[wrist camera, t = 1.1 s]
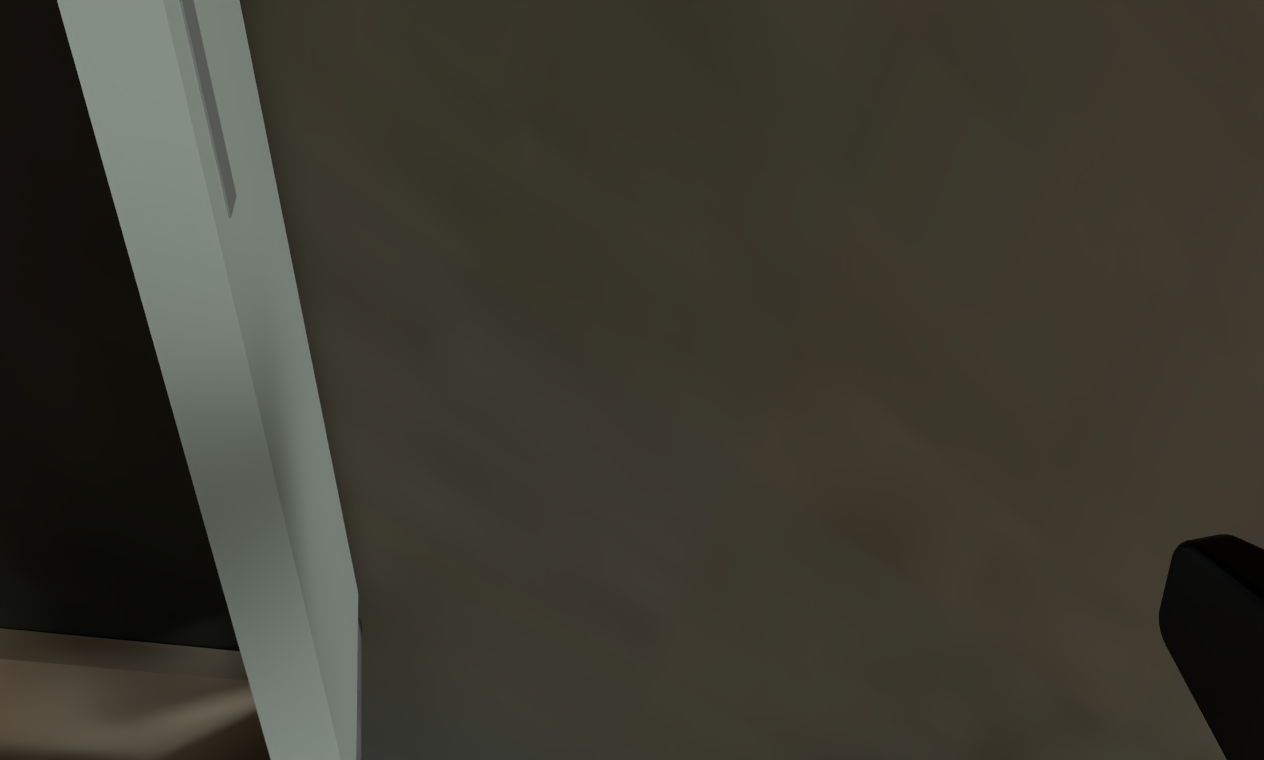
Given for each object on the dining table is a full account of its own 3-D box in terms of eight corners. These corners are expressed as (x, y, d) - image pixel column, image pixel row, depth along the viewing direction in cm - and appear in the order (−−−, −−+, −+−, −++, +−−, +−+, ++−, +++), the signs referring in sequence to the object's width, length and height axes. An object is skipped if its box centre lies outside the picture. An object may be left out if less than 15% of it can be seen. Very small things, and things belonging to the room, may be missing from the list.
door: (368, 639, 24) (369, 876, 19) (317, 646, 24) (305, 887, 19) (205, -180, 16) (136, -120, 11) (126, -177, 16) (21, -115, 11)
